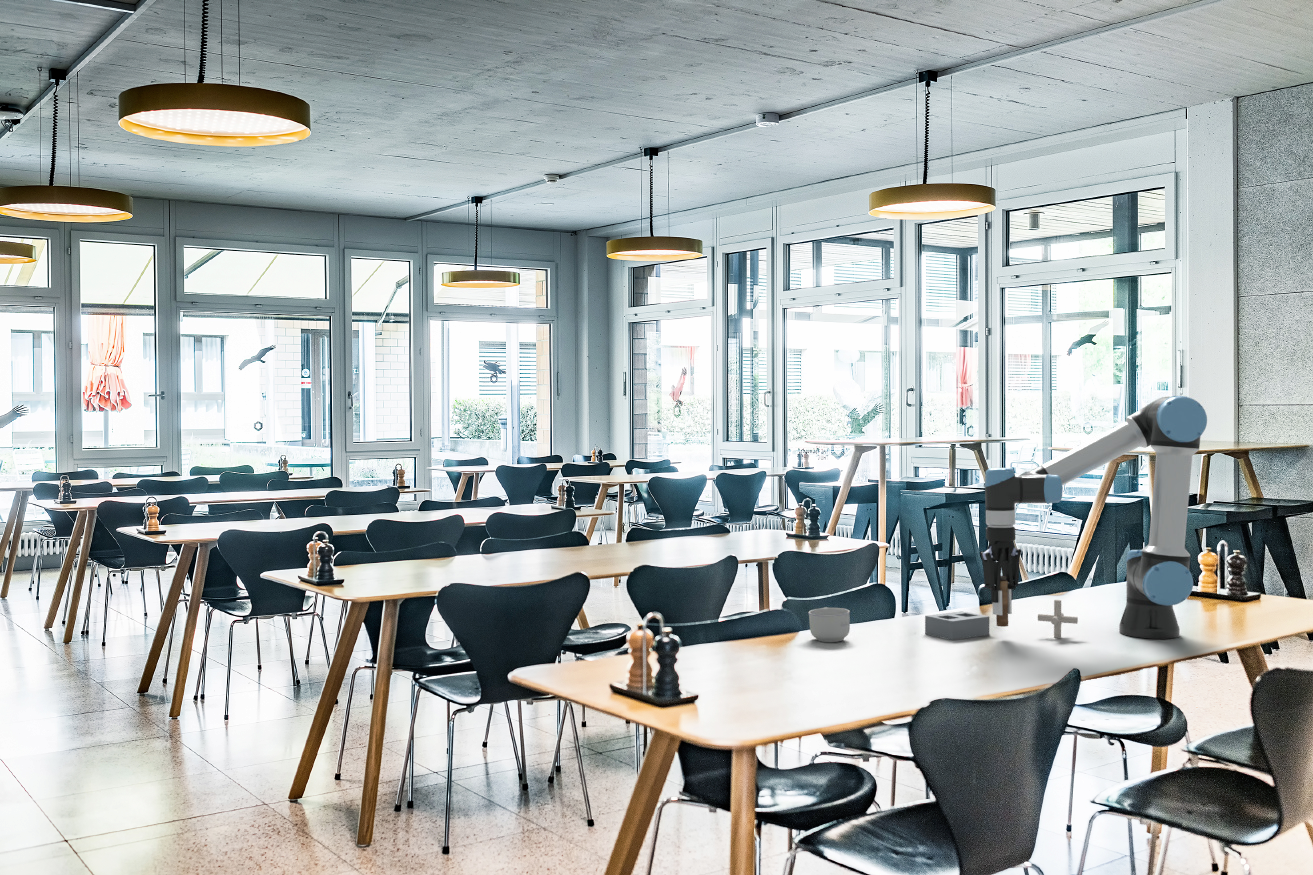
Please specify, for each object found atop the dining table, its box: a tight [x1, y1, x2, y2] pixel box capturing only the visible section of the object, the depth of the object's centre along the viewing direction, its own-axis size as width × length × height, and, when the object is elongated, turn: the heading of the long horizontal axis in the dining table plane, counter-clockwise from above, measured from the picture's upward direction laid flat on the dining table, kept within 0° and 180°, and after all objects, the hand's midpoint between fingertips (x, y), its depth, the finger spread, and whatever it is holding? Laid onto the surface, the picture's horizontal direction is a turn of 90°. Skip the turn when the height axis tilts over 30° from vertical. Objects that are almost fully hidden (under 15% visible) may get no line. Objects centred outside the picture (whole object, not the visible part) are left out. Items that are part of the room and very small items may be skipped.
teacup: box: [807, 606, 851, 643], centre depth 311 cm, size 14×11×8 cm
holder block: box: [924, 611, 990, 641], centre depth 318 cm, size 10×14×5 cm
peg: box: [995, 575, 1009, 627], centre depth 311 cm, size 3×3×13 cm
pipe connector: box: [1037, 599, 1079, 639], centre depth 314 cm, size 10×10×10 cm
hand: (1002, 613), depth 312 cm, fingers closed on peg, 3 cm apart
